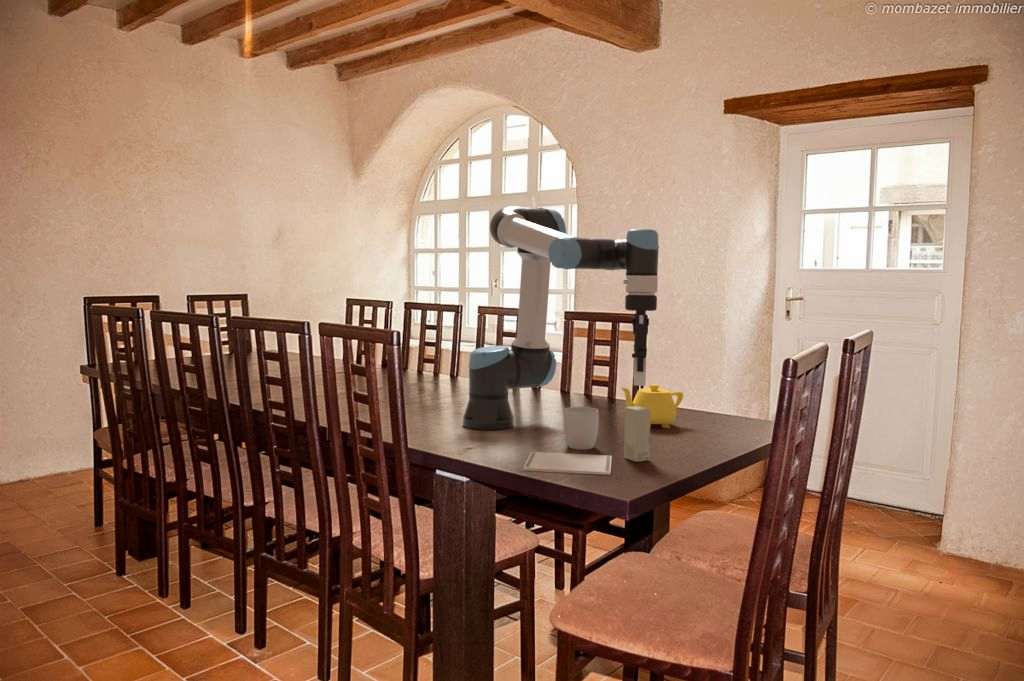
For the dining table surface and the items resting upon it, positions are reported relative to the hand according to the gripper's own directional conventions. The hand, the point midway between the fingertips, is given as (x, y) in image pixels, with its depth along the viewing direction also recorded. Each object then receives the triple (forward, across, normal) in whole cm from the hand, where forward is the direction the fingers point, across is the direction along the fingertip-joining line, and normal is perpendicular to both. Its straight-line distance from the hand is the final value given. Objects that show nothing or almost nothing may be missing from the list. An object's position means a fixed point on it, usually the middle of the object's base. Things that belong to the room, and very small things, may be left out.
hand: (639, 381), depth 181 cm
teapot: (+19, -44, +5) cm, 48 cm away
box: (+20, 0, 0) cm, 20 cm away
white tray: (+19, +8, -16) cm, 26 cm away
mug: (+19, -12, -15) cm, 27 cm away
